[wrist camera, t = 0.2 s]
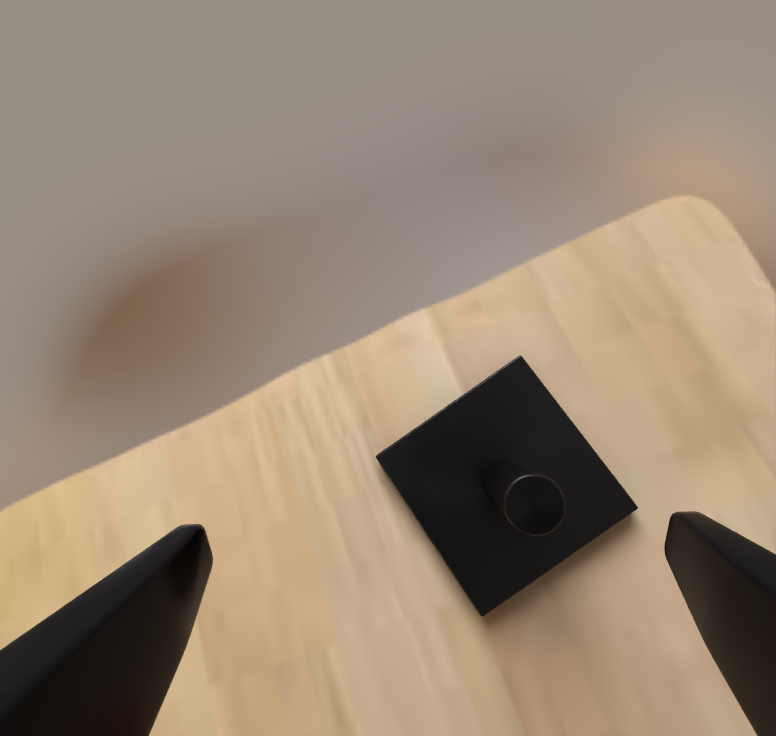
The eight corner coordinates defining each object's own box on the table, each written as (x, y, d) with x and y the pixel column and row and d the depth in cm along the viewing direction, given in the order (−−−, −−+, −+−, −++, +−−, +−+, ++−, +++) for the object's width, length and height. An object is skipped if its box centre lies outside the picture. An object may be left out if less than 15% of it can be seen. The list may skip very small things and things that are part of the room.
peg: (630, 504, 21) (743, 546, 14) (479, 609, 21) (506, 711, 14) (517, 357, 23) (560, 319, 15) (377, 455, 23) (348, 467, 15)
